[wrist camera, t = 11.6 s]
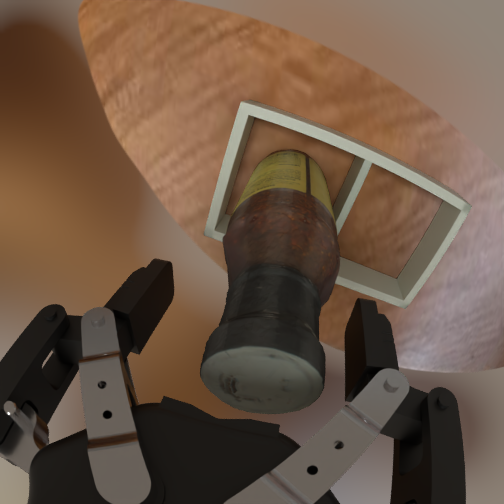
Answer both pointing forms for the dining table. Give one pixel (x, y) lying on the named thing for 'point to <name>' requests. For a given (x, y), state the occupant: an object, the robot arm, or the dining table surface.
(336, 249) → the sauce bottle
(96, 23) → the dining table surface
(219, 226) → the corral
